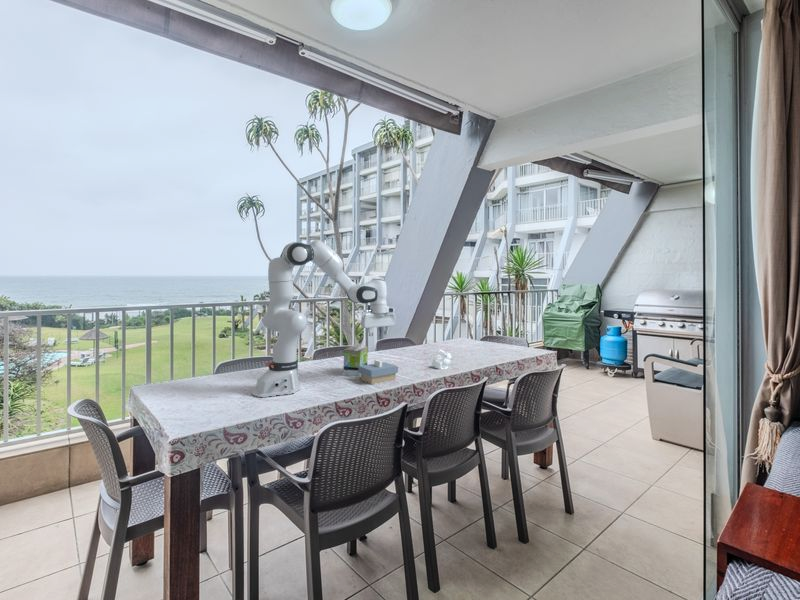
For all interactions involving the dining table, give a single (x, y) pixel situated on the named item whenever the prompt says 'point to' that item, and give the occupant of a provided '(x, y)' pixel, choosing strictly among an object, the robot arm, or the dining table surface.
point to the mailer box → (378, 378)
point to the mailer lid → (377, 369)
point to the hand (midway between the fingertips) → (378, 335)
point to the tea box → (354, 359)
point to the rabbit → (441, 360)
